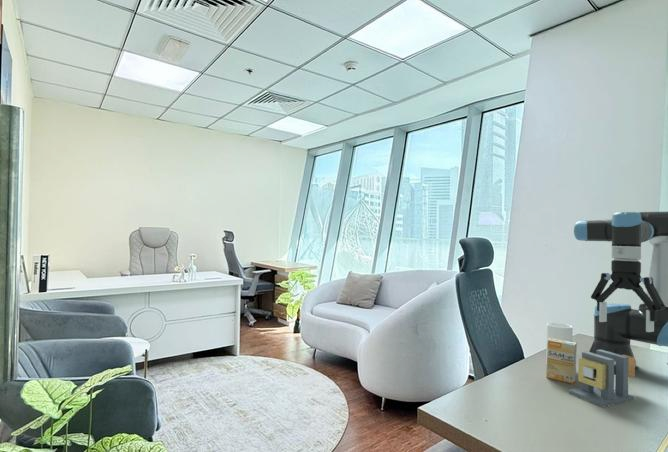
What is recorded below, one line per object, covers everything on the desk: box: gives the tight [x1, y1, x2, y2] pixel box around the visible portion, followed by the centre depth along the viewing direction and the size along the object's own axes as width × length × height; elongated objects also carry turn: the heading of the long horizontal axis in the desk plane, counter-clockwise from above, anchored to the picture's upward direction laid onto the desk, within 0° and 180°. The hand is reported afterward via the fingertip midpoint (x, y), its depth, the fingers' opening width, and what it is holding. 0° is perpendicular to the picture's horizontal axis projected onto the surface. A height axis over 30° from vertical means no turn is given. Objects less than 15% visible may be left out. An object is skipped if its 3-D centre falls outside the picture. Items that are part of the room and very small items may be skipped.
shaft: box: [583, 355, 636, 379], centre depth 117 cm, size 20×3×6 cm, turn 113°
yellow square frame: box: [577, 357, 607, 390], centre depth 113 cm, size 2×7×7 cm, turn 24°
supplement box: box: [545, 338, 578, 385], centre depth 129 cm, size 8×5×13 cm, turn 50°
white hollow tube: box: [545, 322, 574, 368], centre depth 140 cm, size 8×8×16 cm
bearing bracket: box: [568, 350, 635, 408], centre depth 115 cm, size 15×10×13 cm, turn 113°
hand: (625, 326), depth 120 cm, fingers open, 13 cm apart
